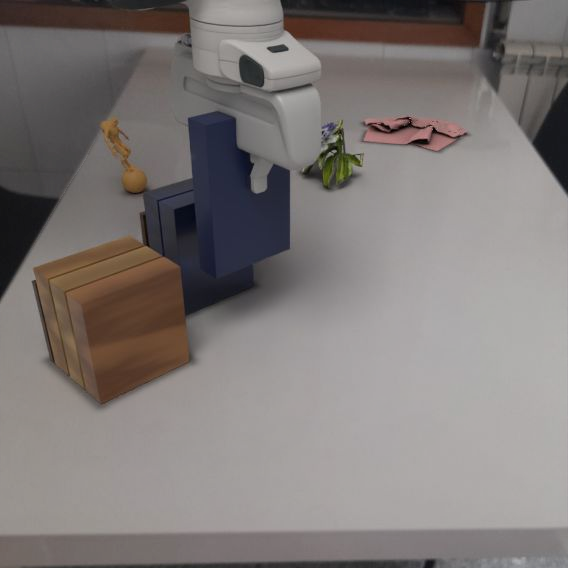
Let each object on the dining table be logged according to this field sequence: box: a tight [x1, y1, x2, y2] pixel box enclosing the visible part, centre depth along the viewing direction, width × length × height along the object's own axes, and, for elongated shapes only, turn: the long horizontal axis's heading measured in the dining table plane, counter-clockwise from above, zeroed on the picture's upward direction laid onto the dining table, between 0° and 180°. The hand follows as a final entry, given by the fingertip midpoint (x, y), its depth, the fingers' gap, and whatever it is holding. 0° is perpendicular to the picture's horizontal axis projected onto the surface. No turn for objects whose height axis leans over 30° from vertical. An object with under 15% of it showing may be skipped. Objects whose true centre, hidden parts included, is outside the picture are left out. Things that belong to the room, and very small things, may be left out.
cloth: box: [363, 115, 468, 152], centre depth 146 cm, size 20×22×2 cm
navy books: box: [138, 177, 255, 317], centre depth 89 cm, size 7×11×14 cm
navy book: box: [187, 111, 291, 279], centre depth 78 cm, size 3×11×17 cm, turn 136°
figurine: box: [99, 116, 148, 194], centre depth 113 cm, size 8×6×12 cm
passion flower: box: [301, 118, 365, 190], centre depth 124 cm, size 11×11×12 cm
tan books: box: [31, 235, 190, 405], centre depth 76 cm, size 10×11×12 cm
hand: (243, 184), depth 78 cm, fingers closed on navy book, 3 cm apart
